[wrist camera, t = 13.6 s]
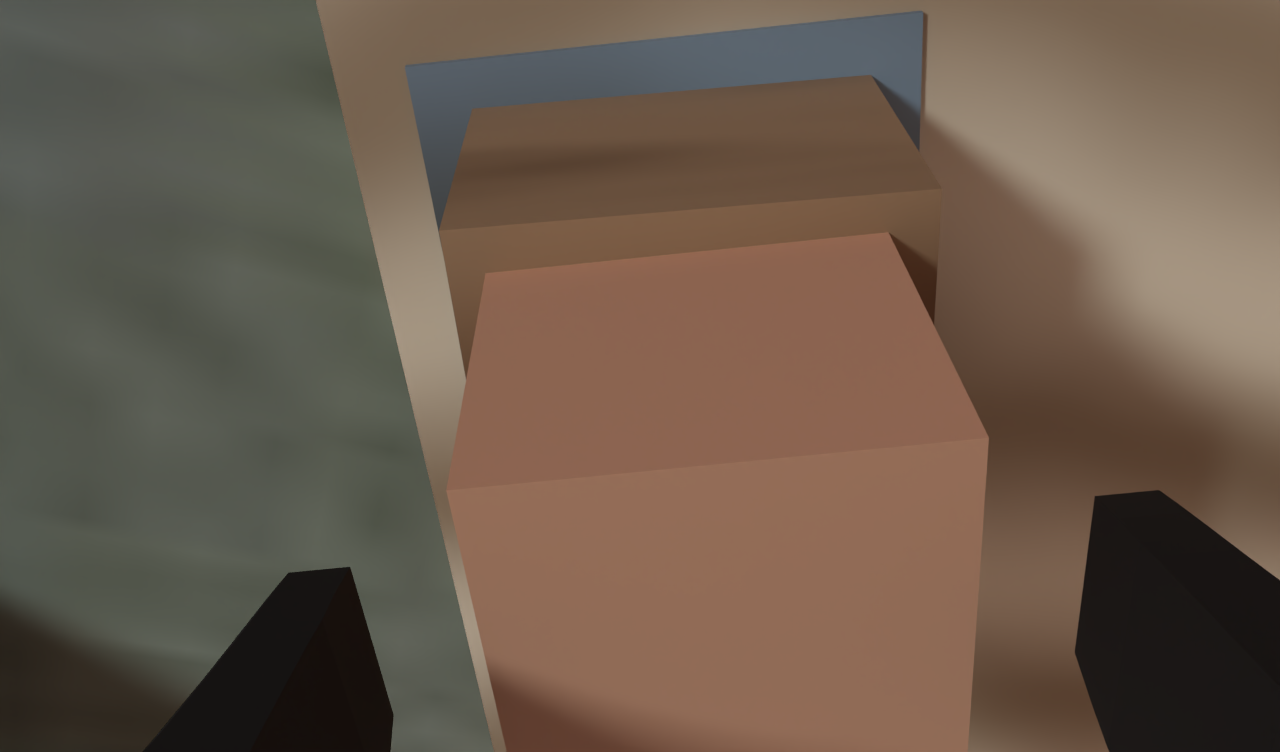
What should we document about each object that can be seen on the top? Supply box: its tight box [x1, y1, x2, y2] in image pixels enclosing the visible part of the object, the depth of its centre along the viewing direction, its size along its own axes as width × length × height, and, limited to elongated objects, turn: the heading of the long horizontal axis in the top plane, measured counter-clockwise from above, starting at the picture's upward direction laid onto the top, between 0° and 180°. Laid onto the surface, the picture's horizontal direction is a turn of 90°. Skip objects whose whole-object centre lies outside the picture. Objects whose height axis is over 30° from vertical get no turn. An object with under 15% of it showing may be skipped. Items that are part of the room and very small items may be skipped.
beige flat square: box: [316, 0, 1280, 752], centre depth 20 cm, size 20×18×1 cm
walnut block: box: [439, 75, 942, 378], centre depth 16 cm, size 6×6×4 cm
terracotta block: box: [446, 232, 989, 752], centre depth 13 cm, size 4×4×4 cm
